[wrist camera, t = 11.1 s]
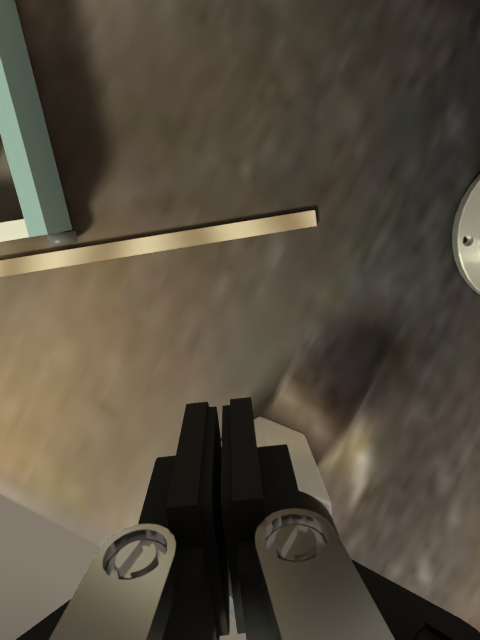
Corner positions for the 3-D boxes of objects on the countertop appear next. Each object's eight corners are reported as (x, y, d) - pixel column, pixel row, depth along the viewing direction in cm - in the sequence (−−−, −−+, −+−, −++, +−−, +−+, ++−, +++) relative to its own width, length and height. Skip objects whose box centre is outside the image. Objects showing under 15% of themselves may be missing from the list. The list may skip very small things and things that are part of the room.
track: (283, -83, 29) (284, -87, 28) (315, 225, 34) (316, 225, 34) (-201, -10, 28) (-207, -13, 28) (-92, 291, 34) (-95, 292, 33)
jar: (212, 420, 38) (211, 515, 26) (304, 410, 38) (344, 500, 27) (222, 507, 40) (224, 629, 29) (308, 497, 40) (346, 615, 29)
